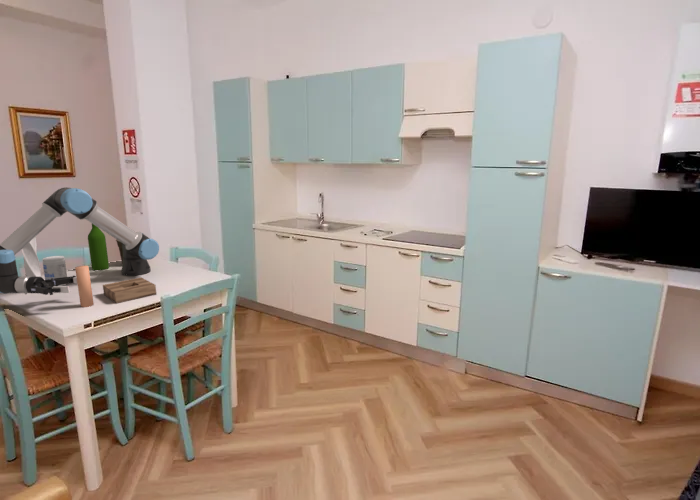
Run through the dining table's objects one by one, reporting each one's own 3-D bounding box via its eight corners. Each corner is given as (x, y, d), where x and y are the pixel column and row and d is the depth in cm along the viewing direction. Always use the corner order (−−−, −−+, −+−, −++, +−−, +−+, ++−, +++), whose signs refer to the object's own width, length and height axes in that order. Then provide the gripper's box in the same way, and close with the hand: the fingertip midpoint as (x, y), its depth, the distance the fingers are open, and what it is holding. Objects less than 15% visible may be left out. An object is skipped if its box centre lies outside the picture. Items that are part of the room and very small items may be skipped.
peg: (79, 305, 188) (73, 267, 184) (91, 302, 191) (86, 265, 187) (82, 308, 184) (76, 269, 180) (95, 305, 188) (89, 267, 184)
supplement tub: (41, 287, 213) (37, 260, 210) (53, 282, 222) (49, 255, 219) (61, 287, 213) (56, 259, 210) (72, 282, 222) (68, 255, 219)
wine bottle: (94, 267, 252) (87, 214, 245) (111, 266, 255) (104, 213, 248) (89, 271, 244) (82, 216, 237) (106, 270, 246) (99, 215, 239)
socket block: (103, 294, 202) (102, 284, 201) (142, 286, 215) (141, 277, 214) (116, 303, 190) (115, 293, 189) (156, 294, 203) (155, 284, 202)
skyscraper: (45, 278, 229) (37, 228, 223) (43, 282, 222) (34, 230, 216) (26, 280, 225) (17, 229, 219) (23, 284, 218) (14, 232, 212)
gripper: (51, 284, 198) (96, 284, 198) (10, 302, 174) (61, 302, 174) (49, 269, 196) (94, 269, 197) (7, 285, 172) (58, 285, 172)
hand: (78, 284), depth 185 cm, fingers open, 13 cm apart
